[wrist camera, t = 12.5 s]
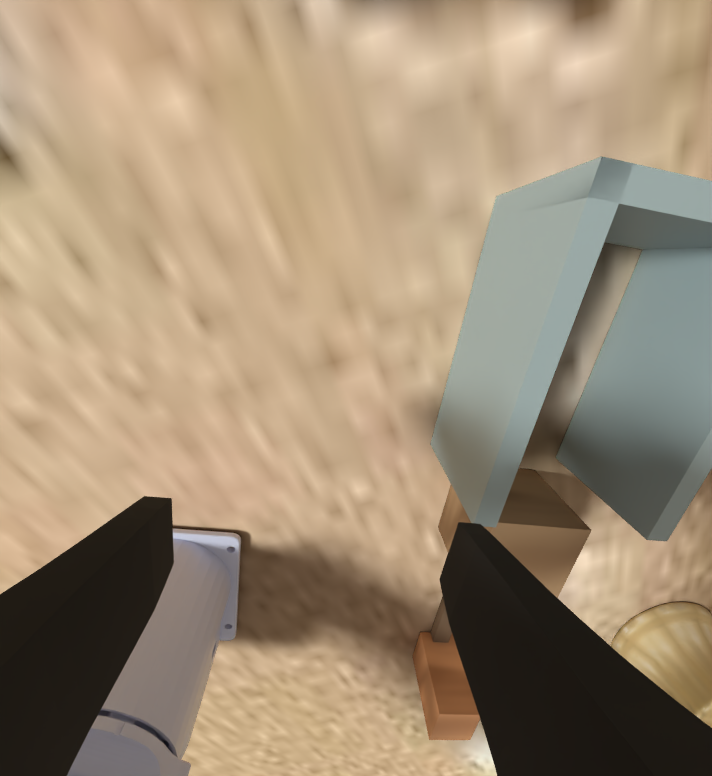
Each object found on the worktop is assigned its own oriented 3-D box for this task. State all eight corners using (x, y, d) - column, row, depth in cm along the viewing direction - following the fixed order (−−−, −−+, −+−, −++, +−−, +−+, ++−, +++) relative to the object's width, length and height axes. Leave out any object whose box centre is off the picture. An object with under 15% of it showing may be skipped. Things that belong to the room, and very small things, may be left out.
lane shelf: (570, 459, 21) (667, 541, 15) (430, 444, 20) (472, 525, 14) (670, 231, 16) (866, 215, 10) (496, 196, 15) (601, 156, 9)
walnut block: (459, 657, 27) (485, 739, 23) (399, 655, 27) (413, 739, 22) (534, 470, 21) (591, 530, 16) (457, 462, 21) (494, 522, 16)
